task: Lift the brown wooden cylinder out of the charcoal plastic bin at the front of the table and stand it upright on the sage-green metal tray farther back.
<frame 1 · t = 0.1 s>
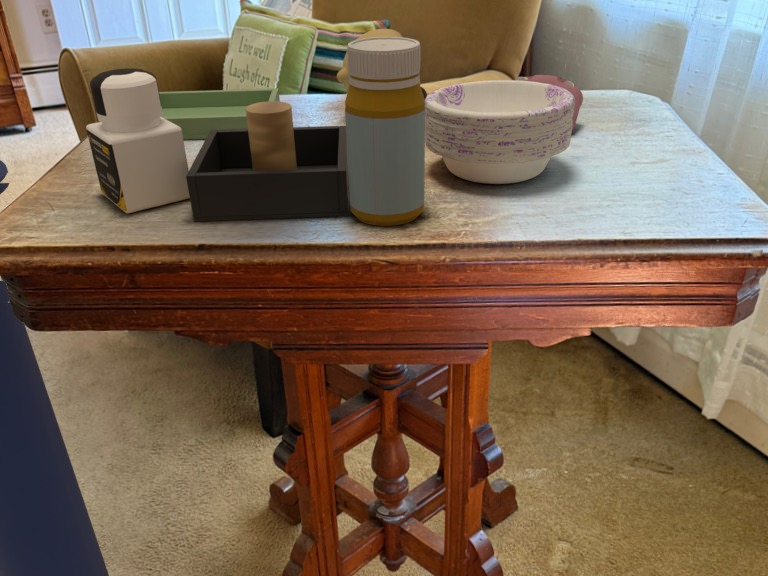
bin: (277, 191, 77), on the table
medicine bottle: (147, 198, 77), on the table
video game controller: (537, 127, 95), on the table
bottle: (387, 215, 72), on the table
paper bowls: (494, 172, 81), on the table
tray: (209, 123, 99), on the table
brown wooden cylinder: (277, 187, 77), resting on bin
toy pig: (384, 117, 100), on the table
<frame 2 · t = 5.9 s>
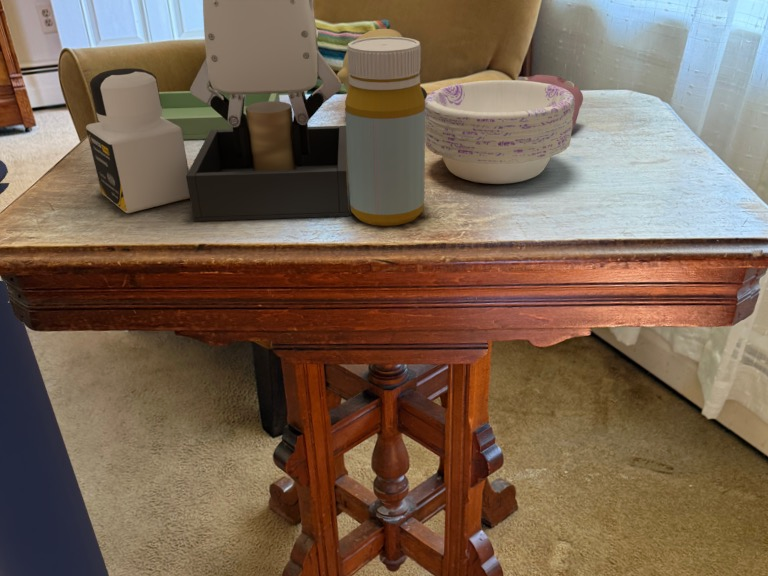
hand: (274, 161, 76), 3 cm above the table, tool pointing down, fingers closed on brown wooden cylinder, 4 cm apart
brown wooden cylinder: (277, 187, 77), resting on bin, touching gripper
everything else where it was.
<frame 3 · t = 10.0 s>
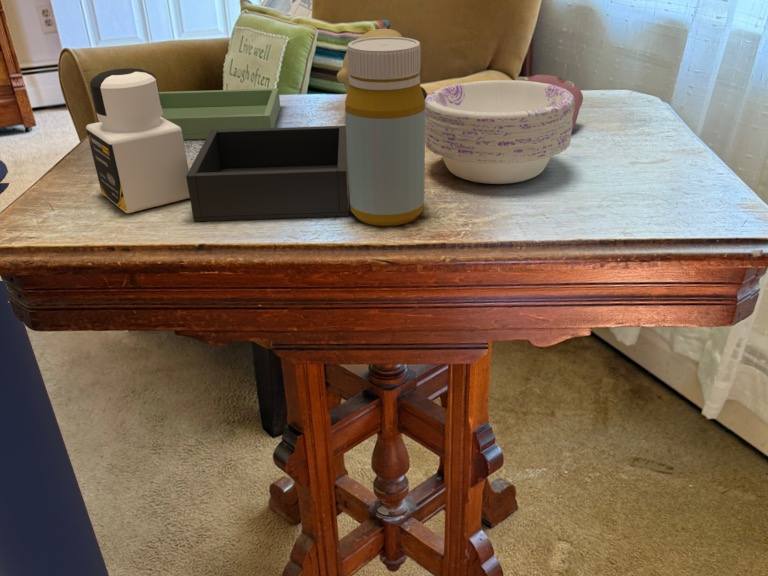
when the fingers open (3 cm above the table, at t = 14.4 s): brown wooden cylinder stays where it is, resting on tray.
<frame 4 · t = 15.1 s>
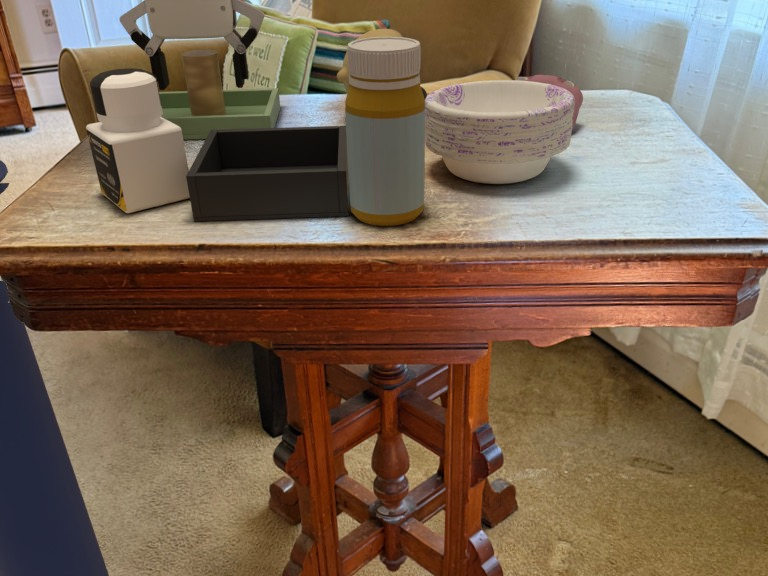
hand: (202, 86, 96), 5 cm above the table, tool pointing down, fingers open, 9 cm apart
brown wooden cylinder: (209, 118, 98), point 1 cm above the table, touching tray
everything else where it was.
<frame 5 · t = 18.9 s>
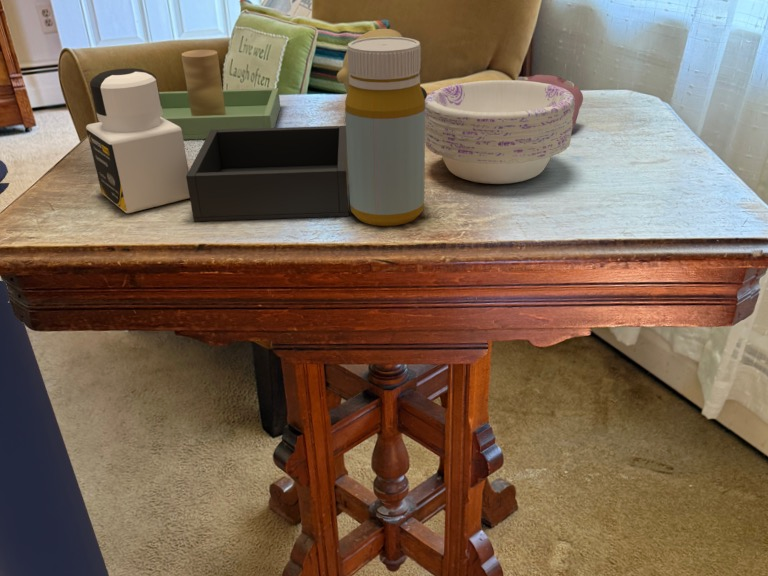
nothing on the table moved.
at the end: brown wooden cylinder inside the target area in the tray (0.1 cm from its centre), point 0.6 cm above the tray's base; brown wooden cylinder tilted 0°; the gripper is holding nothing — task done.
